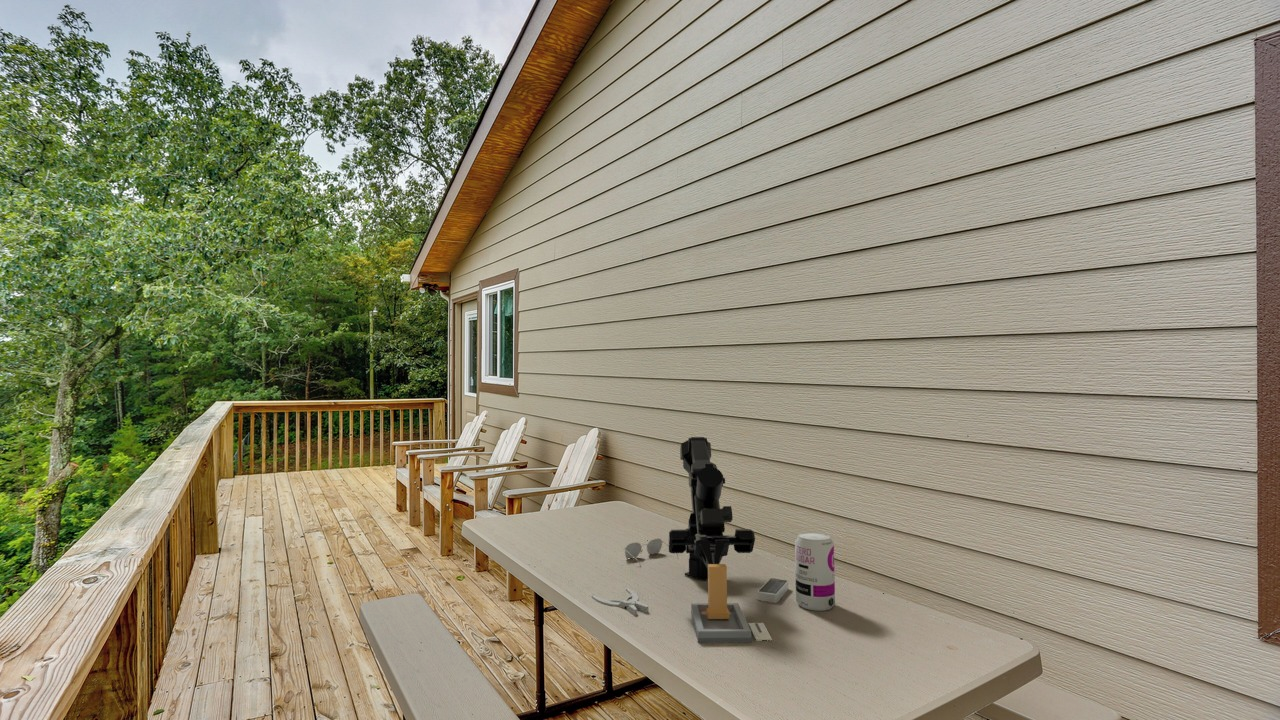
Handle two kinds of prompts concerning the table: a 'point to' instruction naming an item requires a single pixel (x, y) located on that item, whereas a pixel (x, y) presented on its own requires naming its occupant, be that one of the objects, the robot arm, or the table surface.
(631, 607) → the pliers
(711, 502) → the robot arm
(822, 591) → the supplement can
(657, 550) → the sunglasses
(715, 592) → the orange tall block
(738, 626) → the switch housing
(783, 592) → the multiport hub
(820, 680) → the table surface
